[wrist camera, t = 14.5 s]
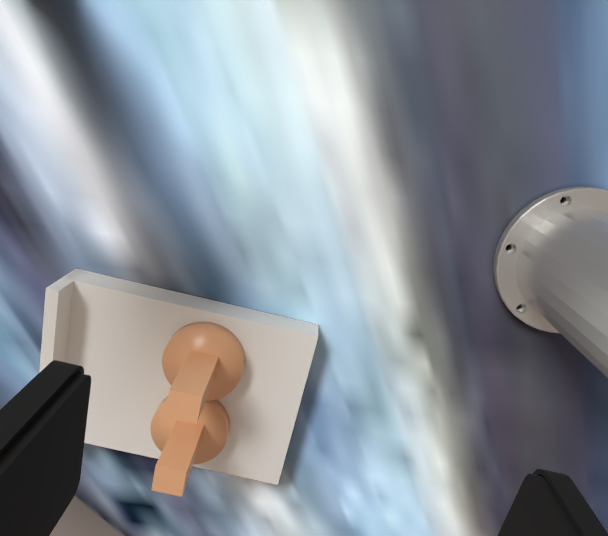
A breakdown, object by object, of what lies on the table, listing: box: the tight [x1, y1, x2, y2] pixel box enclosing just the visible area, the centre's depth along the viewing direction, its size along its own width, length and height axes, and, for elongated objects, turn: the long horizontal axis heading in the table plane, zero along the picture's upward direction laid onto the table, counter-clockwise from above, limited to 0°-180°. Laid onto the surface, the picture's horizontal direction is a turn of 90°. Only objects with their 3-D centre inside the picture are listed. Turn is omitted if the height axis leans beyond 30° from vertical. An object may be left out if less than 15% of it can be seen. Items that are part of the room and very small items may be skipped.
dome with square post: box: [150, 396, 230, 497], centre depth 43 cm, size 7×7×10 cm
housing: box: [39, 269, 318, 485], centre depth 42 cm, size 22×16×10 cm
